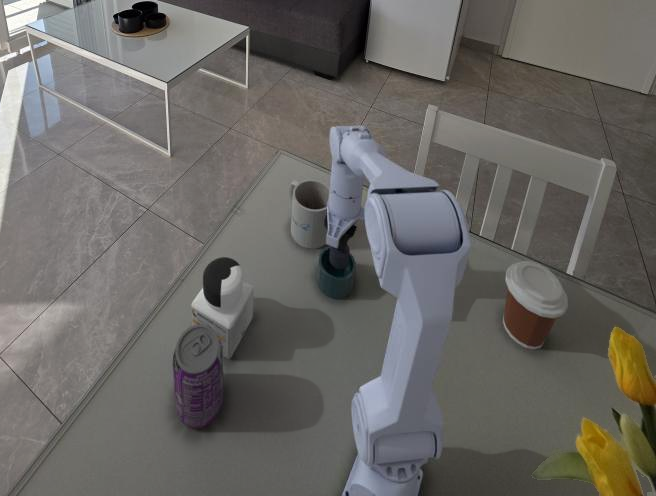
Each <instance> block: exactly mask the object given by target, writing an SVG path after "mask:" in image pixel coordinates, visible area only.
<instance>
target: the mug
mask: <svg viewBox="0 0 656 496" xmlns="http://www.w3.org/2000/svg"><path fill="white" fill-rule="evenodd" d="M329 190H330V185H328V184H327V183H325V182H323V181H320V180H317V179H305V180H302V181H299V180H293V181H291V183H290V185H289V199H290V203H291V218H290V234H291V237H292V238H293V240H294V241H295V243H297V244H298V245H299V246H301V247H303V248H305V249H310V250H312V249H313V250H315V249H320V248H322V247H324V246H325V245H327V244H326V237H327V233H328V230H327V228H326V227H325V226H324V219H325V217H326V214H327V202H328V199H329Z"/></svg>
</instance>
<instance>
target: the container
mask: <svg viewBox="0 0 656 496" xmlns="http://www.w3.org/2000/svg"><path fill="white" fill-rule="evenodd" d="M243 276H244V274H243V269H242V267H241V264H240V263H239V262H238V261H236V260H235V259H234V258H231V257H228V256H227V257H226V256H222V257H218V258H215V259H213V260H212V261H210V262H209V263H208V264H207V265H206V267H205V268H204V270H203V273H202V288H201V289H200V290H199V292H198V294H197V295H196V297H195V298H194V299H193V301H192V302H191V304H190V305H191V326H193V325H197V324H204V325H207V326H209V327H211V328H212V329H213V330H214V331H215V332H216V334H217V336H218V339H219V341H220V343H221V346H222V351H223V358H226V359H228V360H231V359H232V357H233V355H234V353H235V351H236V349H237V348H238V346H239V345H240V342H241V341H242V338H243V337H244V335H245V333H246V331H247V329H248V327H249V325H250V323H251V322H252V320H253V318H254V286H253V285H251V284H250V283H248V282H246V281H244V280H243V278H244V277H243Z"/></svg>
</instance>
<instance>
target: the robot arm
mask: <svg viewBox="0 0 656 496" xmlns="http://www.w3.org/2000/svg"><path fill="white" fill-rule="evenodd" d="M329 150H330V156H331V158H332V159H331V170H330V181H329V187H330V190H329V199H328V202H327V214H326V217H325V219H324V226H325V227H326V228H327V230H328V233H327V237H326V244H325V245H328V246H332V247H333V248H334V249H336V250H339V251H341V252H344V250H345V248H346V246H347V244H348V242H349V240H351V239H352V238H353V237H354V235H355V234H356V231H357V228H358V226H357V225H356V224H357V222H358V221H359V220H360V221H364V224H365V225H364V226H365V231H366V236H367V240H368V243H369V246H370V251H371V255H372V261H373V266H374V269H375V273H376V276H377V277H378V282H379V286H380V288H381V289H382V290H384V291H386V292H387V293H389V294H390V295H392V296H393V297H395V298H396V305H395V309H394V314H393V318H392V323H391V327H390V332H389V336H388V341H387V345H386V350H385V355H384V359H383V363H382V368H381V373H380V375H379V376H377V377H376V378H374V379H372V380H370V381H368V382H366V383H364V384H362V385H361V386H360V387H359V389H358V392H355V393H354V395H353V398H352V400H351V406H350V407H351V409H350V411H351V423H352V430H353V437H354V441H355V446H356V450H357V455H356V457H355V460H354V463H353V465H352V468H351V470H350V472H349V475H348V479H347V481H346V484H345V487H344V489H343V491H342V495H341V496H347V495H346V494H348V496H418V495H419V492H420V488H421V485H422V481H423V477H424V472H423V470H422V469H421V467H422V466H423V465H425V464H428V461H429V459H433V460H438V459H440V458H441V455H442V451H443V448H444V437H443V436H444V435H443V428H444V419H443V416H442V412H441V409H440V405H439V402H438V399H437V397H436V395H435V392H434V390H433V388H432V387H433V384H434V381H435V377H436V374H437V371H438V368H439V365H440V361H441V358H442V354H443V351H444V348H445V344H446V342H447V341H446V340H447V337H448V335H449V331H450V328H451V325H452V319H453V314H454V302H455V295H456V289H457V287H458V286H460V284H461V283H462V280H463V278H464V274H465V271H466V267H467V264H468V262H469V261H468V260H469V257H470V253H471V251H472V241H471V240H472V239H471V234H470V231H469V226H468V220H467V217H466V214H465V211H464V209H463V206H462V205H461V202H460V201H459V200H458V199H457V198H456V197H455V195H454V194H453V193H452V192H451V191H449V190H447V189H440V190H438V191H437V189H439V188H440V187H441V186H440V185H439V183H438V182H437V181H436V180H434V179H431V178H429V177H425V176H423V175H420V174H417V173H415V172H411V171H409V170H407V169H405V168H404V167H402V166H400V165H399V164H397V163H395V162H394V161H392V160H391V159H389V158H387V152H386V150H385V149H384V147H383V146H382V145H381V144H380V143H379V142H377V141H376V140H375V139H373V136H372V132H371V130H370V129H369V128H366V126H365V125H336V126H331V127H330V130H329ZM365 181H368V182H369V186H368V190H367V197H366V201H365V205H364V207H362V201H363V191H364V182H365Z"/></svg>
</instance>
